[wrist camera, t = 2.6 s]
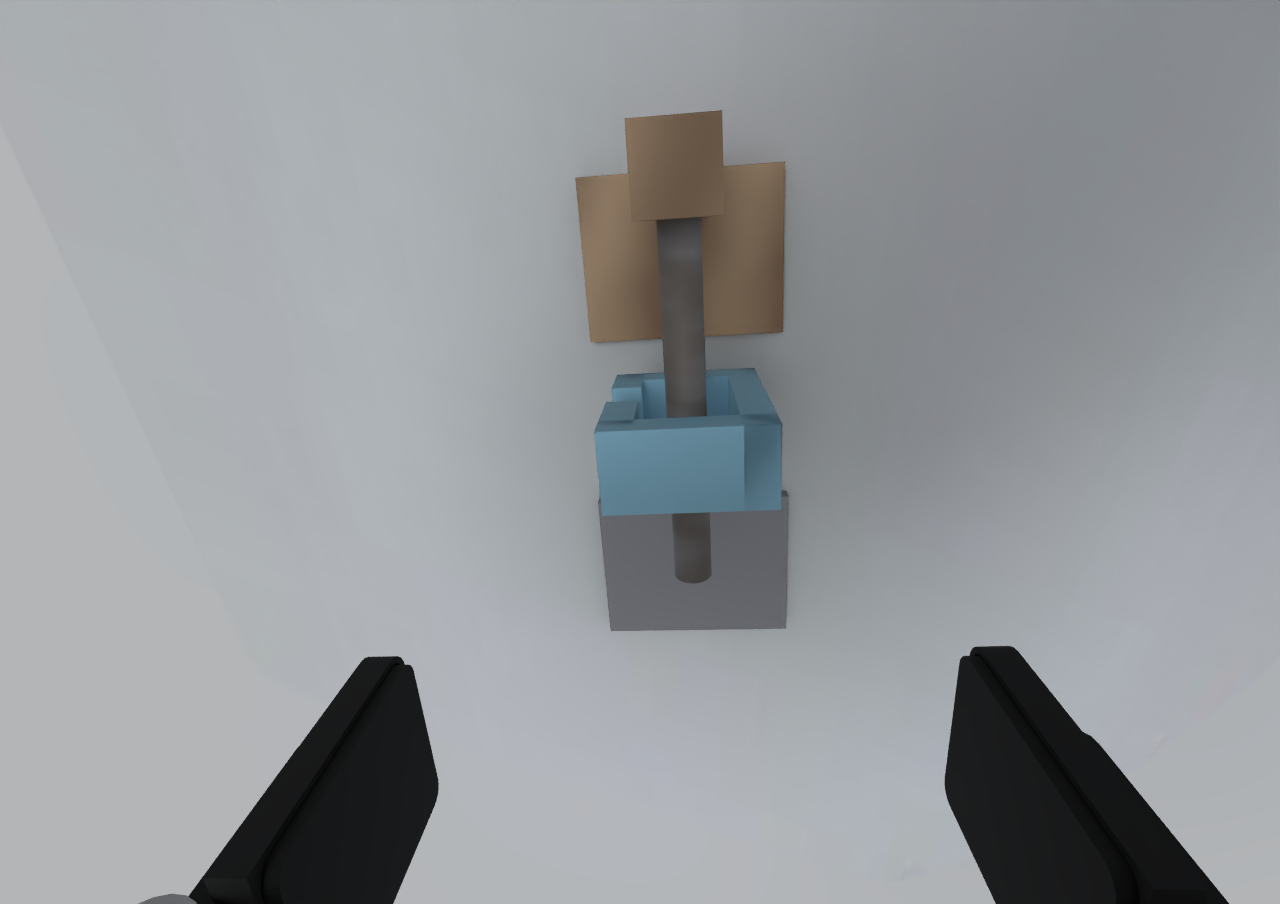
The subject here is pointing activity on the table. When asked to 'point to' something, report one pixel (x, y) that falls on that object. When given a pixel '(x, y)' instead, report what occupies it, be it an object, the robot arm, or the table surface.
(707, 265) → the stand
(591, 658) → the table surface
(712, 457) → the link
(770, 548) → the mat
